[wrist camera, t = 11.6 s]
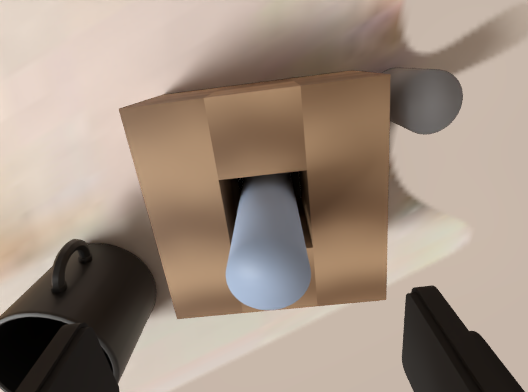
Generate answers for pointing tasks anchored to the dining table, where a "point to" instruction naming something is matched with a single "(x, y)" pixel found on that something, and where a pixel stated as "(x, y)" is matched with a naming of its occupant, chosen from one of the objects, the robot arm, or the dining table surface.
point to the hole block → (263, 163)
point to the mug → (78, 308)
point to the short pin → (423, 99)
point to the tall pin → (268, 245)
